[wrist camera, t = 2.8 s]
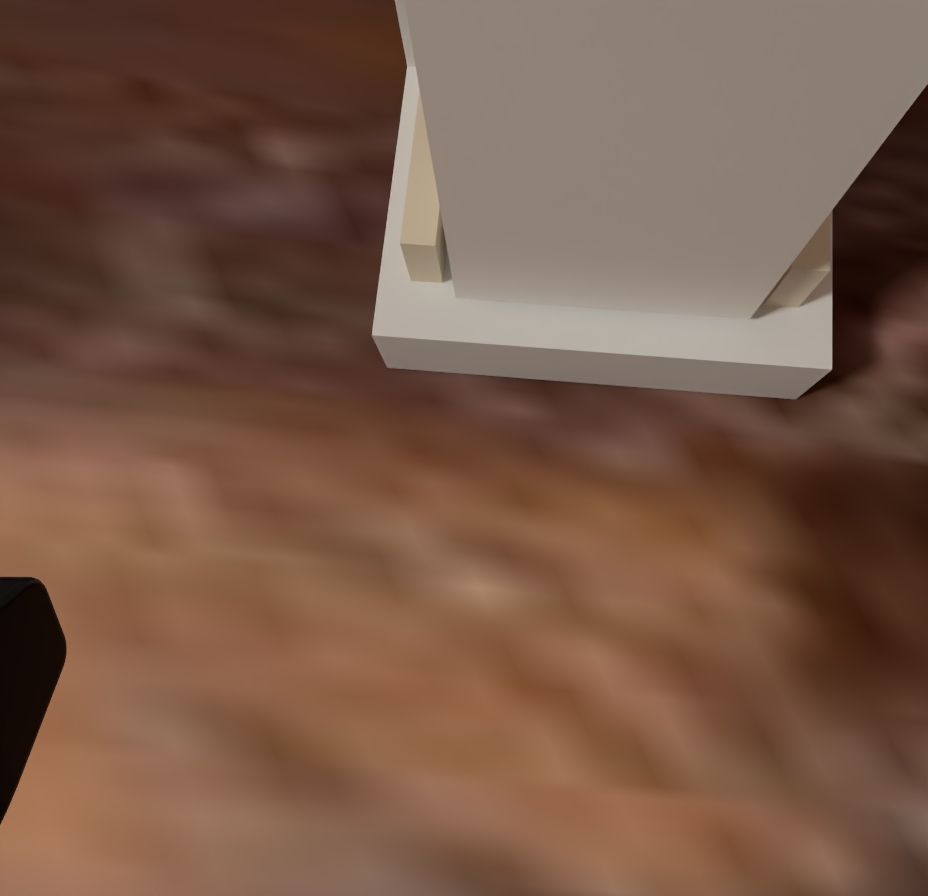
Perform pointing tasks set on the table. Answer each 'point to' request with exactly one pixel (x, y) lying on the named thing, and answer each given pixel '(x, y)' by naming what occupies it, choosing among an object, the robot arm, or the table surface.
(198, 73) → the table surface
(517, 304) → the cream l-shaped bracket
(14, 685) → the robot arm
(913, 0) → the off-white rectangular block
